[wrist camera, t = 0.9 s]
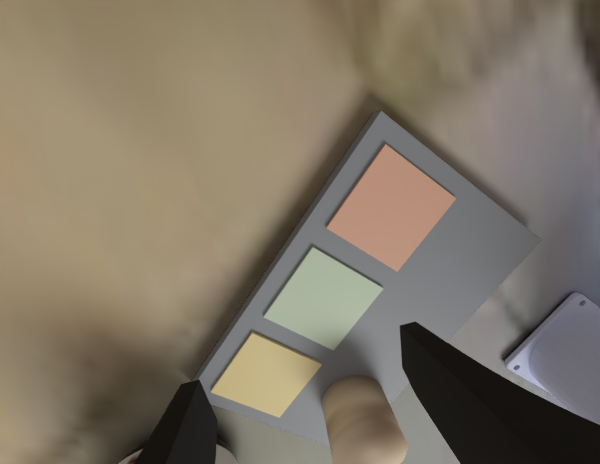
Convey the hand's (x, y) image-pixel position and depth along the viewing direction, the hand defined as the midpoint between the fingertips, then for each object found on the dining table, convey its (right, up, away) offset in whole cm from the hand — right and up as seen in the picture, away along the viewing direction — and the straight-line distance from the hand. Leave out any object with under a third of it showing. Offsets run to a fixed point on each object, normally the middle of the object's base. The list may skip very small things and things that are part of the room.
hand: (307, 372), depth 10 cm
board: (+4, -1, +10) cm, 11 cm away
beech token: (+4, -8, +12) cm, 15 cm away
